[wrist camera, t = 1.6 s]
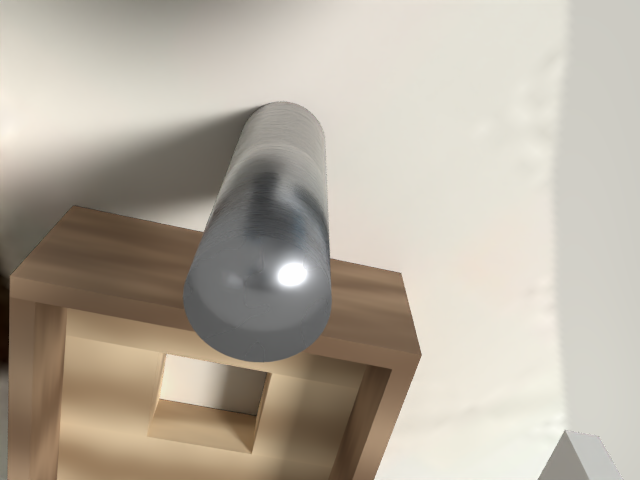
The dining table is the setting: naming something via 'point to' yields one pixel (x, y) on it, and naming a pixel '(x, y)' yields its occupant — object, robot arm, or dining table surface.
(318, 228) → the peg
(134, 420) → the box
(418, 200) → the dining table surface
